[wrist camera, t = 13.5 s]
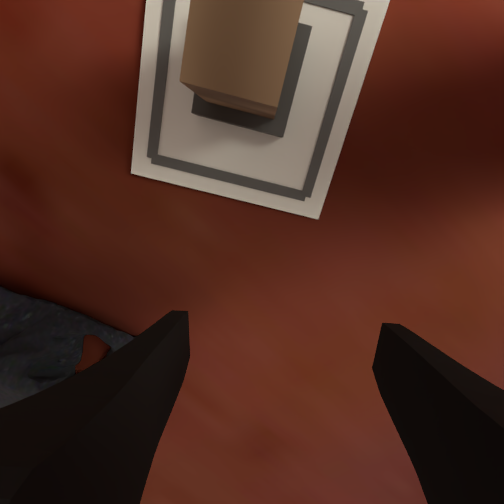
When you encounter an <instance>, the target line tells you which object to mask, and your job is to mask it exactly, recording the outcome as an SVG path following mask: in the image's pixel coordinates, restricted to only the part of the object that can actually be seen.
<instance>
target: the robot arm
mask: <svg viewBox="0 0 504 504" xmlns="http://www.w3.org/2000/svg"><path fill="white" fill-rule="evenodd" d="M189 358H190V345H189V321H188V311H174V310H172V311H171V312H169V313H168V314H166V315H165V316H164V317H162V318H161V319H160V320H158V321H157V322H156V323H154V324H153V325H152V326H151V327H149V328H148V329H146V330H145V331H144V332H142V333H141V334H140V335H138V336H137V337H136V338H134V339H133V340H131V341H130V342H128V343H127V344H125V345H124V346H122V347H121V348H119V349H118V350H116V351H115V352H113V353H112V354H110V355H109V356H107V357H106V358H104V359H102V360H101V361H99V362H97V363H96V364H94V365H92V366H90V367H88V368H87V369H85V370H83V371H81V372H79V373H78V374H76V375H74V376H72V377H70V378H68V379H66V380H63V381H61V382H59V383H57V384H55V385H53V386H51V387H49V388H47V389H45V390H43V391H41V392H38V393H36V394H34V395H31V396H29V397H27V398H24V399H22V400H20V401H17V402H15V403H12V404H10V405H7V406H5V407H2V408H0V504H140V501H141V497H142V494H143V490H144V487H145V484H146V480H147V477H148V474H149V470H150V467H151V464H152V461H153V457H154V454H155V451H156V449H157V446H158V443H159V440H160V438H161V435H162V433H163V431H164V428H165V426H166V423H167V421H168V418H169V416H170V413H171V411H172V408H173V406H174V403H175V401H176V398H177V396H178V393H179V391H180V388H181V386H182V383H183V380H184V377H185V373H186V370H187V366H188V362H189ZM372 369H373V372H374V376H375V379H376V382H377V385H378V388H379V391H380V394H381V397H382V399H383V401H384V403H385V405H386V408H387V410H388V412H389V414H390V416H391V418H392V421H393V423H394V425H395V427H396V429H397V431H398V433H399V436H400V438H401V440H402V442H403V444H404V446H405V448H406V450H407V453H408V455H409V457H410V459H411V461H412V464H413V466H414V468H415V471H416V473H417V475H418V478H419V481H420V484H421V486H422V489H423V492H424V495H425V497H426V500H427V503H428V504H504V390H502V389H501V388H499V387H497V386H495V385H494V384H492V383H490V382H489V381H487V380H485V379H484V378H482V377H480V376H479V375H477V374H475V373H474V372H472V371H471V370H469V369H467V368H466V367H464V366H463V365H461V364H460V363H458V362H457V361H455V360H453V359H452V358H450V357H449V356H447V355H446V354H444V353H443V352H441V351H440V350H439V349H437V348H436V347H434V346H433V345H431V344H430V343H428V342H427V341H425V340H424V339H422V338H421V337H419V336H418V335H416V334H415V333H413V332H412V331H410V330H409V329H407V328H405V327H404V326H402V325H400V324H392V323H382V327H381V331H380V335H379V340H378V344H377V349H376V353H375V358H374V362H373V366H372Z"/></svg>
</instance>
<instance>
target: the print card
mask: <svg viewBox="0 0 504 504" xmlns="http://www.w3.org/2000/svg"><path fill="white" fill-rule="evenodd" d="M389 2H390V0H304V2H303V6H302V10H301V14H300V18H299V23H302V24H306V25H310V26H312V30H311V34H310V37H309V41H308V45H307V49H306V53H305V56H304V60H303V64H302V68H301V72H300V75H299V79H298V83H297V87H296V91H295V94H294V98H293V102H292V106H291V110H290V113H289V117H288V121H287V125H286V129H285V132H284V136H283V137H282V138H281V137H277V136H273V135H269V134H265V133H262V132H258V131H254V130H250V129H246V128H243V127H239V126H235V125H231V124H227V123H224V122H220V121H216V120H212V119H208V118H205V117H201V116H197V115H195V114H193V113H191V110H192V104H193V97H194V92H193V91H192V90H190V89H189V88H188V87H186V86H185V85H184V84H182V83H181V82H180V81H179V79H180V72H181V65H182V58H183V50H184V43H185V36H186V29H187V21H188V14H189V7H190V0H146V8H145V20H144V31H143V42H142V53H141V65H140V76H139V87H138V99H137V110H136V121H135V132H134V144H133V155H132V166H131V174H135V175H140V176H144V177H148V178H152V179H156V180H160V181H164V182H168V183H172V184H176V185H180V186H184V187H188V188H192V189H196V190H200V191H204V192H208V193H212V194H217V195H221V196H225V197H229V198H233V199H237V200H241V201H245V202H249V203H253V204H257V205H261V206H265V207H269V208H273V209H277V210H281V211H285V212H289V213H294V214H298V215H302V216H306V217H310V218H314V219H319V216H320V213H321V210H322V207H323V204H324V201H325V198H326V194H327V191H328V188H329V185H330V182H331V179H332V176H333V173H334V170H335V167H336V164H337V161H338V158H339V155H340V152H341V149H342V145H343V142H344V139H345V136H346V133H347V130H348V127H349V124H350V121H351V118H352V115H353V112H354V109H355V106H356V103H357V100H358V96H359V93H360V90H361V87H362V84H363V81H364V78H365V75H366V72H367V69H368V66H369V63H370V60H371V57H372V54H373V51H374V47H375V44H376V41H377V38H378V35H379V32H380V29H381V26H382V23H383V20H384V17H385V14H386V11H387V8H388V5H389Z"/></svg>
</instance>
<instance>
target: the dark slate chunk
mask: <svg viewBox="0 0 504 504" xmlns="http://www.w3.org/2000/svg"><path fill="white" fill-rule="evenodd" d="M87 334H88V335H95V336H97V337H99V338H100V339H101V340H102V341H104V342H105V343H106V344H108V345H109V346H110V347H111V348H110V350H109V352H108V353H107V356H109V355H110V354H112V353H113V352H115V351H116V350H118V349H119V348H121V347H122V346H124V345H125V344H127V343H128V342H130V341H131V340H133V339H134V338H136V337H137V336H136V337H133V336H131V335H129V334H127V333H125V332H122V331H117V330H115V329H114V328H113V327H111V326H108V325H105V324H103V323H101V322H99V321H97V320H95V319H93V318H91V317H89V316H87V315H84V314H81V313H79V312H76V311H72V310H70V309H68V308H66V307H64V306H60V305H57V304H56V303H52V302H49V301H46V300H41V299H35V298H32V297H29V296H26V295H19V294H17V293H15V292H13V291H10V290H8V289H6V288H4V287H1V286H0V408H2V407H5V406H7V405H10V404H12V403H15V402H17V401H20V400H22V399H24V398H27V397H29V396H31V395H34V394H36V393H38V392H41V391H43V390H45V389H47V388H49V387H51V386H53V385H55V384H57V383H59V382H61V381H63V380H66V379H68V378H70V377H72V376H74V375H76V374H75V365H76V364H78V363H79V362H80V360H81V356H82V350H83V339H84V335H87ZM107 356H106V357H107Z"/></svg>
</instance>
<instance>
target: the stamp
mask: <svg viewBox="0 0 504 504" xmlns="http://www.w3.org/2000/svg"><path fill="white" fill-rule="evenodd" d="M303 2H304V0H190V7H189V14H188V21H187V29H186V36H185V43H184V50H183V58H182V65H181V72H180V79H179V81H180V82H181V83H182V84H184V85H185V86H186V87H188V88H189V89H190V90H192V91H193V92H194V97H193V104H192V110H191V113H193V114H195V115H197V116H201V117H205V118H208V119H212V120H216V121H220V122H224V123H227V124H231V125H235V126H239V127H243V128H246V129H250V130H254V131H258V132H262V133H265V134H269V135H273V136H277V137H281V138H282V137H283V136H284V132H285V129H286V125H287V121H288V117H289V113H290V110H291V106H292V102H293V98H294V94H295V91H296V87H297V83H298V79H299V75H300V72H301V68H302V64H303V60H304V56H305V53H306V49H307V45H308V41H309V37H310V34H311V30H312V26H310V25H306V24H302V23H299V18H300V14H301V10H302V6H303Z"/></svg>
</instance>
